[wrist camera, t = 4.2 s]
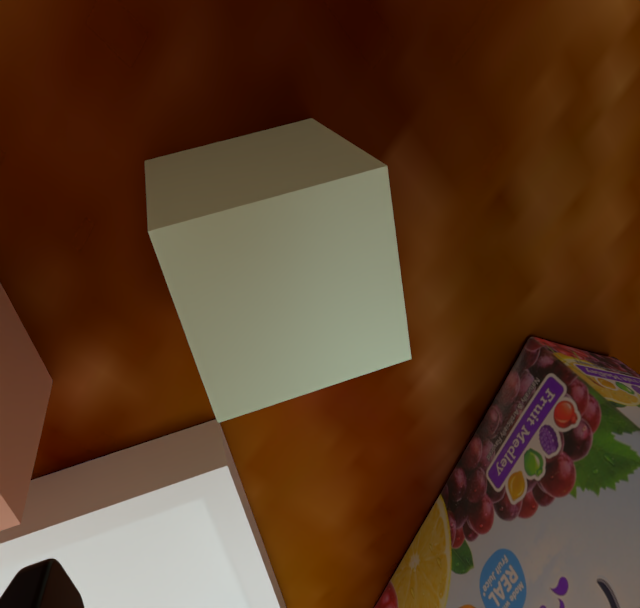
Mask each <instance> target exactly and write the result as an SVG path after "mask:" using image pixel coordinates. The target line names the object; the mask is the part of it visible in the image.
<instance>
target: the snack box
mask: <svg viewBox="0 0 640 608" xmlns="http://www.w3.org/2000/svg"><path fill="white" fill-rule="evenodd" d="M374 608H640V375H639V374H637V373H636V372H635V371H633V370H632V369H631V368H629V367H628V366H627V365H625V364H624V363H622V362H621V361H619V360H618V359H616V358H614V357H607V356H602V355H598V354H595V353H591V352H587V351H584V350H580V349H576V348H573V347H569V346H565V345H561V344H558V343H555V342H550V341H547V340H544V339H540V338H537V337H530V338H529V339H528V341H527V342H526V344H525V346H524V348H523V349H522V351H521V353H520V355H519V357H518V358H517V360H516V362H515V364H514V366H513V368H512V369H511V371H510V373H509V375H508V376H507V378H506V380H505V382H504V383H503V385H502V387H501V389H500V390H499V392H498V394H497V396H496V397H495V399H494V401H493V403H492V405H491V407H490V408H489V410H488V411H487V414H486V415H485V417H484V419H483V420H482V422H481V424H480V425H479V427H478V429H477V431H476V432H475V434H474V436H473V437H472V439H471V441H470V443H469V444H468V446H467V448H466V450H465V451H464V453H463V455H462V457H461V459H460V461H459V462H458V464H457V465H456V467H455V469H454V470H453V472H452V474H451V476H450V477H449V479H448V481H447V483H446V485H445V486H444V488H443V490H442V492H441V494H440V495H439V497H438V499H437V500H436V502H435V504H434V505H433V507H432V509H431V511H430V512H429V514H428V516H427V517H426V519H425V521H424V523H423V524H422V526H421V528H420V530H419V531H418V533H417V535H416V537H415V538H414V540H413V542H412V543H411V545H410V547H409V549H408V550H407V552H406V554H405V555H404V557H403V559H402V561H401V562H400V564H399V566H398V568H397V569H396V571H395V573H394V575H393V576H392V578H391V580H390V581H389V583H388V585H387V587H386V588H385V590H384V592H383V593H382V595H381V597H380V599H379V600H378V602H377V604H376V606H375V607H374Z"/></svg>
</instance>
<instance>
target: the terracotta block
mask: <svg viewBox="0 0 640 608" xmlns="http://www.w3.org/2000/svg"><path fill="white" fill-rule="evenodd" d="M52 383H53V380H52V378H51V376H50V375H49V373H48V371H47V369H46V367H45V365H44V363H43V361H42V360H41V358H40V356H39V354H38V352H37V350H36V348H35V346H34V345H33V343H32V341H31V339H30V337H29V335H28V333H27V331H26V330H25V328H24V326H23V324H22V322H21V320H20V318H19V316H18V315H17V313H16V311H15V309H14V307H13V305H12V303H11V302H10V300H9V298H8V296H7V294H6V292H5V290H4V288H3V287H2V285H1V283H0V531H2V530H5V529H8V528H11V527H14V526H16V525H19V524H21V521H22V517H23V512H24V508H25V503H26V499H27V494H28V490H29V486H30V481H31V477H32V472H33V468H34V463H35V459H36V454H37V450H38V446H39V441H40V437H41V432H42V428H43V423H44V419H45V414H46V410H47V405H48V401H49V397H50V392H51V388H52Z"/></svg>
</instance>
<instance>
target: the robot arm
mask: <svg viewBox="0 0 640 608" xmlns="http://www.w3.org/2000/svg"><path fill="white" fill-rule="evenodd" d="M0 608H84V603H83V600H82V597H81V595H80V593H79V591H78V590H77V588H76V587H75V585H74V583H73V582H72V580H71V579H70V577H69V576H68V574H67V573H66V571H65V570H64V568H63V567H62V565H61V564H60V563H59V562H58V561H57V560H56V559H53V558H50V559H46V560H43V561H40V562H37V563H34V564H32V565H29V566H26V567H24V568H22V569H21V570H20V571H19V572H18V573H17V574H16V575H15V576H14V578H13V579H12V581H11V582H10V584H9V585H8V587H7V588H6V590H5V591H4V593H3V594H2V596H1V597H0Z"/></svg>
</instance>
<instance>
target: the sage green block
mask: <svg viewBox="0 0 640 608" xmlns="http://www.w3.org/2000/svg"><path fill="white" fill-rule="evenodd" d="M145 183H146V204H147V226H148V234H149V236H150V239H151V242H152V244H153V247H154V250H155V253H156V255H157V258H158V261H159V264H160V266H161V269H162V272H163V275H164V277H165V280H166V283H167V286H168V288H169V291H170V294H171V297H172V299H173V302H174V305H175V308H176V310H177V313H178V316H179V318H180V321H181V324H182V327H183V329H184V332H185V335H186V338H187V340H188V343H189V346H190V349H191V351H192V354H193V357H194V360H195V362H196V365H197V368H198V371H199V373H200V376H201V379H202V381H203V384H204V387H205V390H206V392H207V395H208V398H209V401H210V403H211V406H212V409H213V412H214V414H215V417H216V420H217V423H220V422H223V421H226V420H229V419H232V418H235V417H238V416H241V415H244V414H247V413H250V412H253V411H256V410H259V409H262V408H265V407H268V406H271V405H274V404H277V403H280V402H283V401H286V400H289V399H292V398H295V397H298V396H301V395H304V394H307V393H310V392H313V391H316V390H319V389H322V388H325V387H328V386H331V385H334V384H337V383H340V382H343V381H346V380H349V379H352V378H355V377H358V376H361V375H364V374H367V373H370V372H373V371H376V370H379V369H382V368H385V367H388V366H391V365H394V364H397V363H400V362H403V361H406V360H410V359H411V351H410V343H409V335H408V327H407V319H406V311H405V303H404V295H403V287H402V279H401V271H400V263H399V255H398V248H397V240H396V232H395V224H394V216H393V208H392V200H391V192H390V184H389V176H388V168H387V165H385V164H384V163H382V162H381V161H379V160H377V159H376V158H374V157H373V156H371V155H369V154H368V153H366V152H365V151H363V150H362V149H360V148H358V147H357V146H355V145H354V144H352V143H350V142H349V141H347V140H346V139H344V138H343V137H341V136H339V135H338V134H336V133H335V132H333V131H331V130H330V129H328V128H327V127H325V126H324V125H322V124H320V123H319V122H317V121H316V120H314V119H312V118H310V119H306V120H302V121H298V122H295V123H291V124H287V125H283V126H279V127H275V128H271V129H267V130H263V131H259V132H255V133H251V134H247V135H244V136H240V137H236V138H232V139H228V140H224V141H220V142H216V143H212V144H208V145H204V146H200V147H197V148H193V149H189V150H185V151H181V152H177V153H173V154H169V155H165V156H161V157H157V158H153V159H150V160H146V161H145Z"/></svg>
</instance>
